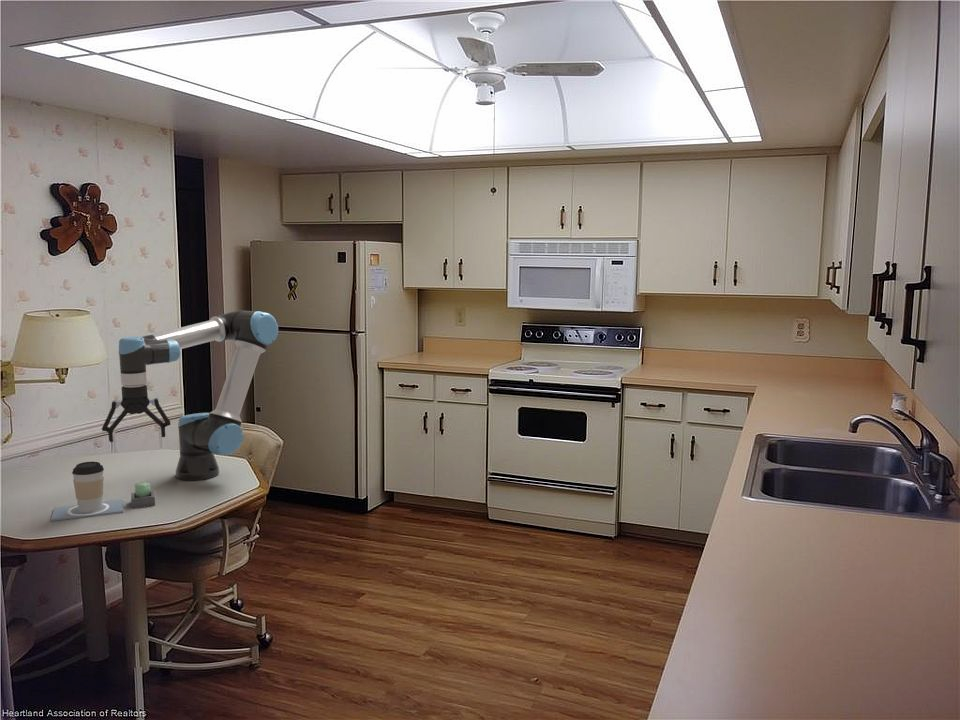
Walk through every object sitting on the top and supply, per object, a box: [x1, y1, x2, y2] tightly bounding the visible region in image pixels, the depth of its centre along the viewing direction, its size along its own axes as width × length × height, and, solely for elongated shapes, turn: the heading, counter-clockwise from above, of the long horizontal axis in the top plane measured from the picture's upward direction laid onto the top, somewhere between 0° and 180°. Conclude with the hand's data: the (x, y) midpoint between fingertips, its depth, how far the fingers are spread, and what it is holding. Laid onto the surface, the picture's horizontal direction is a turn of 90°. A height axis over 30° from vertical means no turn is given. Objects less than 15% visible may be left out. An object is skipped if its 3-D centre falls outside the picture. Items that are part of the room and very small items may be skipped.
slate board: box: [50, 499, 124, 522], centre depth 240 cm, size 20×12×1 cm, turn 115°
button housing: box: [130, 490, 156, 509], centre depth 247 cm, size 7×7×3 cm
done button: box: [134, 481, 151, 498], centre depth 247 cm, size 4×4×4 cm
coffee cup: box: [71, 461, 105, 512], centre depth 239 cm, size 9×9×15 cm
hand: (138, 449), depth 245 cm, fingers open, 13 cm apart
